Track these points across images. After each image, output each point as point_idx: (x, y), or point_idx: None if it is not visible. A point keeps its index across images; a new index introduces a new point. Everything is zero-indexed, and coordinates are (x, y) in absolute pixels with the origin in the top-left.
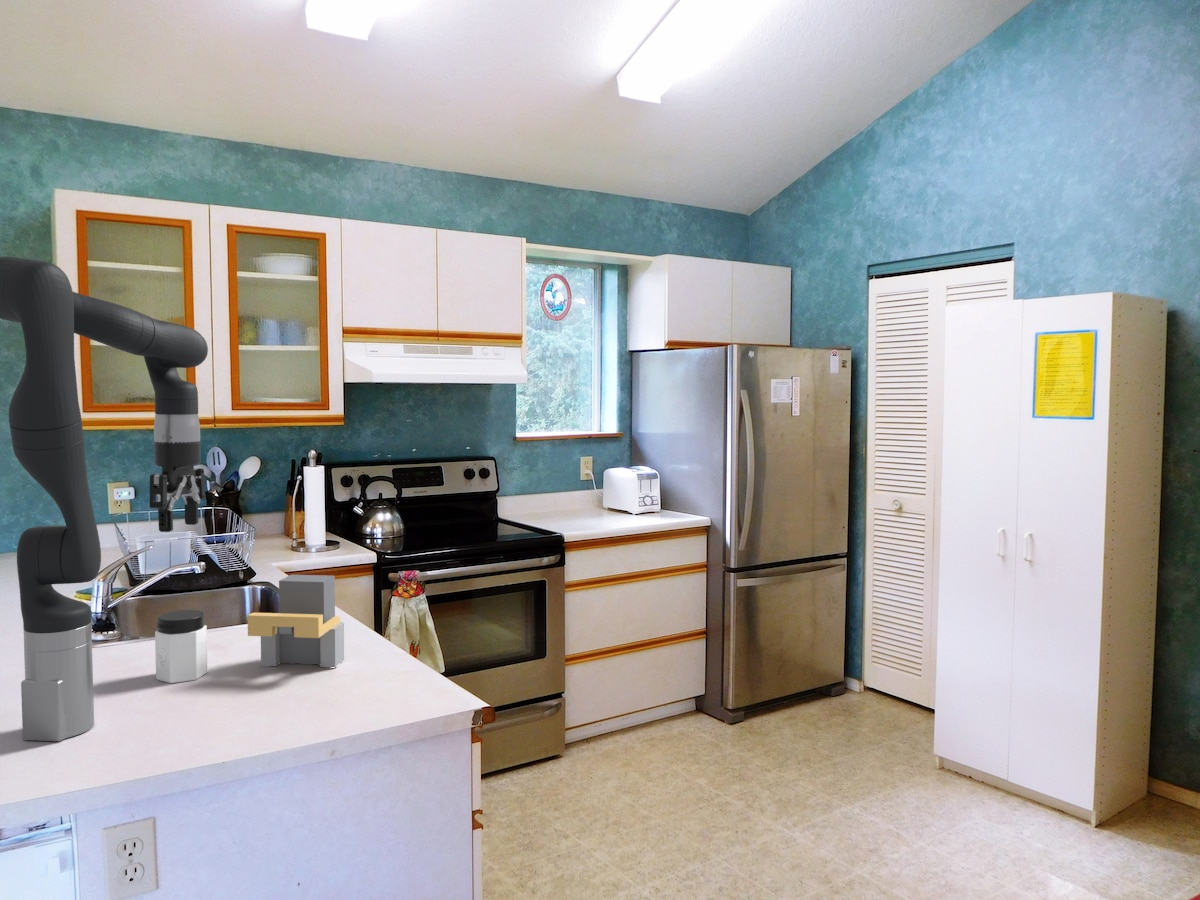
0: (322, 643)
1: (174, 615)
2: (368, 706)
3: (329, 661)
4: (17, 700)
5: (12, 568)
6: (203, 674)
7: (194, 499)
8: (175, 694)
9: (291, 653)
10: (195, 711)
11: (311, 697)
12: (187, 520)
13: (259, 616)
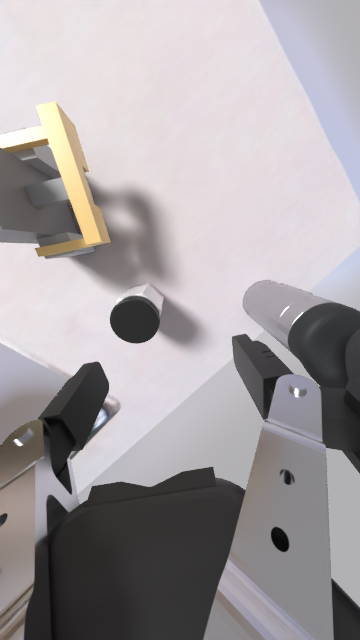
0: (49, 163)
1: (138, 327)
2: (153, 5)
3: None
4: (219, 365)
5: None
6: (137, 286)
7: (47, 445)
8: (182, 275)
9: (68, 222)
10: (212, 228)
11: (150, 124)
12: (102, 390)
13: (95, 222)
